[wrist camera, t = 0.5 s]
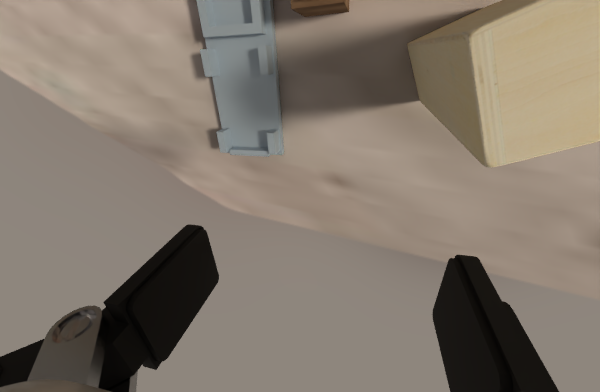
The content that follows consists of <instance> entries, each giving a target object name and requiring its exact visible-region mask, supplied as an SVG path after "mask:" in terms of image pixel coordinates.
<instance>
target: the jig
mask: <svg viewBox="0 0 600 392" xmlns="http://www.w3.org/2000/svg"><path fill="white" fill-rule="evenodd" d="M196 1H197V6H198V11H199V17H200V22H201V27H202V32H203V37H205V42H206V47H207V49H200V53H201V58H202V63H203V68H204V73H205V77H212V79H213V84H214V89H215V95H216V100H217V105H218V111H219V116H220V121H221V126H222V129H221V130H219V131H217V132H216V133H217V138H218V142H219V147H220V152H224V153H230V155H246V156H268V157H269V156H270V155H283V153H284V145H283V132H282V118H281V105H280V91H279V78H278V64H277V51H276V37H275V24H274V10H273V0H196Z"/></svg>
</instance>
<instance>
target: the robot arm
mask: <svg viewBox="0 0 600 392" xmlns="http://www.w3.org/2000/svg"><path fill="white" fill-rule="evenodd" d="M218 280H219V274H218V271H217V268H216V263H215V260H214V256H213V253H212V249H211V246H210V242H209V238H208V235H207V232H206V230H204V229H203V227H202V226H198V225H186V226H185V227H184V228H183V229H182V230H181V231H180V232H178V233H177V234H176V235H175V236H174V237H173V238H172V239H171V240H170V241H169V242H168V243H167V244H166V245H164V246H163V248H161V249H160V250H159V251H158V252H157V253H156V254H155V255H154V256H153V257H152V258H151V259H149V260H148V261H147V262H146V263H145V264H144V265H143V266H142V267H141V268H140V269H139V270H138V271H137V272H136V273H134V274H133V275H132V276H131V277H130V278H129V279H128V280H127V281H126V282H125V283H124V284H123V285H122V286H120V288H118V289H117V290H116V291H115V292H114V293H113V294H112V295H111V296H110V297H109V298H108V299H106V300H105V301H104V304H105V306H106V308H105V309H103V310H101V309H100V307H97V306H86V307H82V308H79V309H77V310H74V311H72V312H70V313H69V314H67V315H65V316H64V317H62V318H61V319H60V320H59V321H57V322H56V323H55V324H54V325H53V326H52V328H51V329H50V330H49V332H48V333H47V335H46V337H45V339H43V340H40V341H38V342H35V343H33V344H30V345H28V346H26V347H23V348H21V349H18V350H16V351H14V352H11V353H9V354H6V355H4V356H2V357H0V392H136V385H137V371H138V369H139V368H140V366H141V365H142V364H143V366H144V367H148V368H152V369H155V370H156V369H157V368H158V366H159V365H160V363H161V362H162V361H164V360H166V359H167V358H168V357H169V355H170V354H171V352H172V351H173V349H174V348H175V346H176V345H177V343H178V342H179V340H180V339H181V337H182V336H183V334H184V333H185V331H186V330H187V328H188V327H189V325H190V323H191V322H192V321H193V319H194V318H195V316H196V314H197V313H198V312H199V310H200V309H201V307H202V305H203V304H204V303H205V301H206V300H207V298H208V296H209V295H210V294H211V292H212V290H213V289H214V287H215V286H216V284H217V283H218ZM433 322H434V325H435V330H436V334H437V338H438V342H439V346H440V351H441V355H442V359H443V363H444V367H445V371H446V375H447V380H448V384H449V388H450V392H559V391H558V389H557V387H556V385H555V384H554V382H553V380H552V379H551V377H550V375H549V373H548V371H547V370H546V368H545V366H544V364H543V362H542V361H541V359H540V357H539V356H538V354H537V352H536V350H535V348H534V347H533V345H532V343H531V341H530V339H529V338H528V336H527V334H526V332H525V331H524V329H523V327H522V325H521V323H520V322H519V320H518V318H517V316H516V314H515V313H514V311H513V309H512V308H511V307H510V305H509V304H507V303H506V302H502V301H501V299H500V297H499V295H498V294H497V292H496V290H495V288H494V286H493V284H492V282H491V281H490V279H489V277H488V275H487V273H486V271H485V269H484V267H483V266H482V264H481V262H480V260H479V259H478V258H477V257H474V256H465V255H456V256H455V258H454V259H453V258H450V259H449V261H448V264H447V267H446V270H445V273H444V277H443V280H442V283H441V286H440V289H439V292H438V296H437V299H436V302H435V305H434V308H433Z"/></svg>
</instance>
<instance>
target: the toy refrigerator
mask: <svg viewBox="0 0 600 392" xmlns="http://www.w3.org/2000/svg"><path fill="white" fill-rule="evenodd" d="M407 48H408V52H409V57H410V61H411V65H412V70H413V74H414V78H415V83H416V87H417V91H418V96H419V100H420V101H421V102H422V104H423V105H425V107H426V108H427V109H428V110H429V111H430V112H431V113H432V114H433V115H434V116H435V117H436V118H437V119H438V120H439V121H440V122H441V123H442V124H443V125H444V126H445V127H446V128H447V129H448V130H449V131H450V132H451V133H452V134H453V135H454V136H455V137H456V138H457V139H458V140H459V141H460V142H461V143H462V144H463V145H464V146H465V147H466V148H467V149H468V150H469V151H470V153H471V154H472V155H473V156H474V157H475V158H476V159H477V160H478V161H479V162H480V163H481V164H483V165H484V166H485V167H496V166H501V165H506V164H510V163H514V162H518V161H522V160H526V159H530V158H534V157H538V156H542V155H546V154H550V153H554V152H558V151H562V150H567V149H571V148H575V147H579V146H583V145H587V144H591V143H595V142H599V141H600V0H502V1H500V2H497V3H494V4H492V5H489V6H487V7H485V8H482V9H480V10H478V11H476V12H474V13H471V14H469V15H467V16H465V17H463V18H461V19H458V20H456V21H454V22H452V23H450V24H448V25H446V26H443V27H441V28H439V29H437V30H435V31H433V32H431V33H428V34H426V35H424V36H422V37H420V38H418V39H415V40H413V41H411V42H409V43H408V44H407Z"/></svg>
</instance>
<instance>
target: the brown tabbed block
mask: <svg viewBox="0 0 600 392" xmlns="http://www.w3.org/2000/svg"><path fill="white" fill-rule="evenodd" d="M291 9H292V10H294V11H296V12H297V13H299V14H301V15H302V16H304V17H308V16H317V15H325V14H334V13H342V12H349V0H291Z"/></svg>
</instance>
